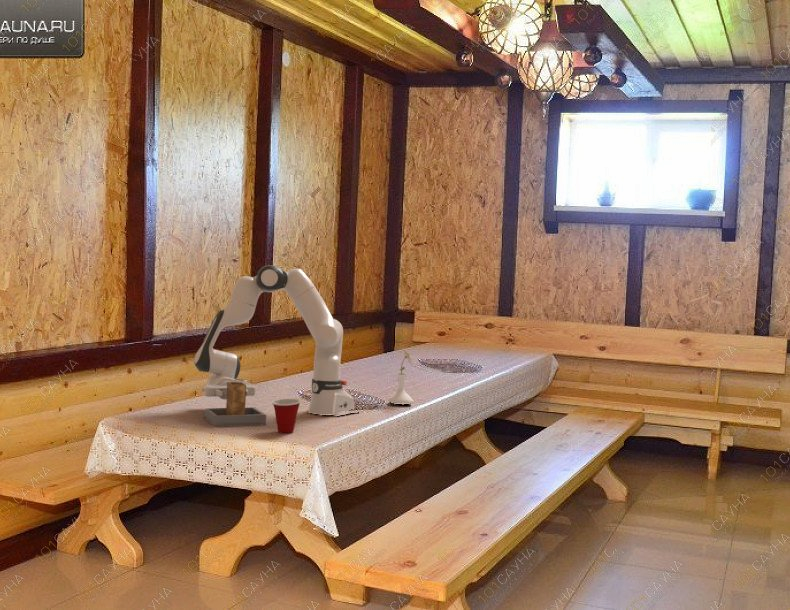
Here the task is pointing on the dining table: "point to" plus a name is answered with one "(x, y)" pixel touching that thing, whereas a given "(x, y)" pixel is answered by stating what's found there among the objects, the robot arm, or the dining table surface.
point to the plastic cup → (286, 414)
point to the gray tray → (235, 417)
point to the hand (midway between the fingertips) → (234, 393)
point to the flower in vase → (401, 385)
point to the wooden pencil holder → (236, 398)
